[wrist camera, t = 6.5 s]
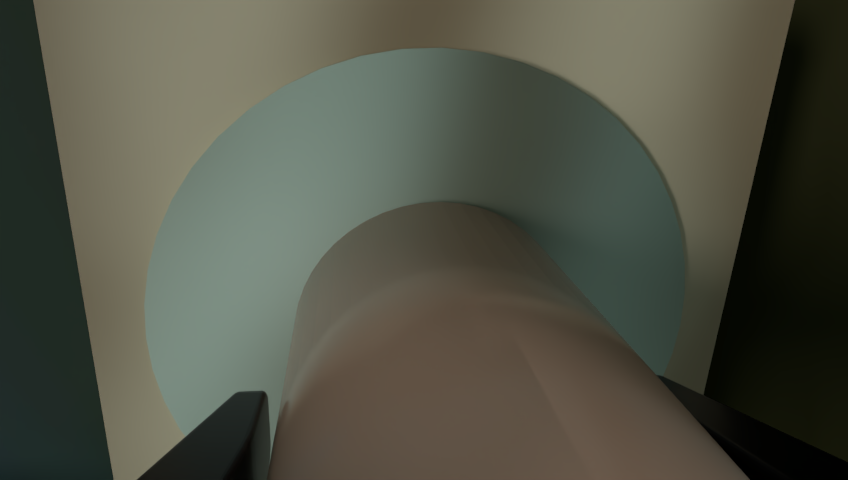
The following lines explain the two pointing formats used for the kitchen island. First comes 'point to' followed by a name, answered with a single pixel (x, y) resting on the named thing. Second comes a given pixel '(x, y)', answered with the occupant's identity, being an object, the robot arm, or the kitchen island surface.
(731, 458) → the robot arm
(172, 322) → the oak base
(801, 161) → the kitchen island surface
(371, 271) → the spice jar
